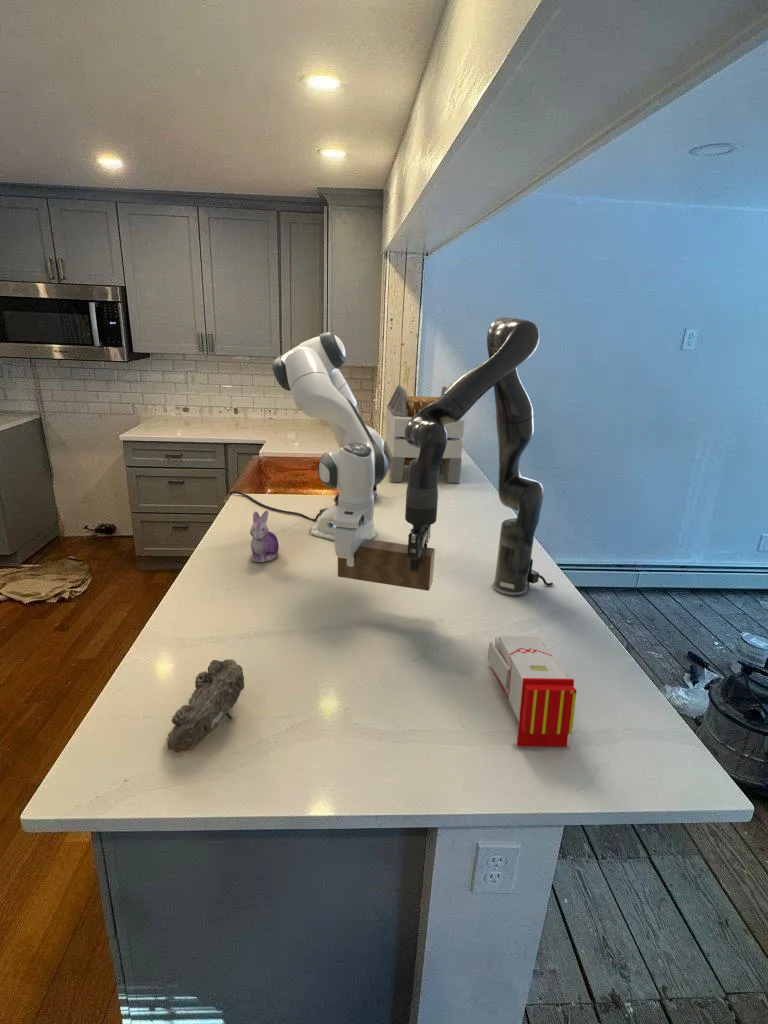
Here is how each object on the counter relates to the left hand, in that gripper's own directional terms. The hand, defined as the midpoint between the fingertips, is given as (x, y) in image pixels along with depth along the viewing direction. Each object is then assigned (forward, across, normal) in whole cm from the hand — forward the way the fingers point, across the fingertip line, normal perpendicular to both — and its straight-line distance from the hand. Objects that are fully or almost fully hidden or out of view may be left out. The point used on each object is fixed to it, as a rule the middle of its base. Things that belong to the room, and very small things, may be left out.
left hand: (354, 560), depth 145 cm
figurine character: (+14, -87, -22) cm, 91 cm away
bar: (+4, 0, +8) cm, 9 cm away
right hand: (-2, 0, +16) cm, 17 cm away
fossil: (+13, +49, -12) cm, 52 cm away
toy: (+14, +25, +45) cm, 53 cm away
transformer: (+15, -134, -10) cm, 136 cm away
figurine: (+14, -20, -36) cm, 43 cm away
